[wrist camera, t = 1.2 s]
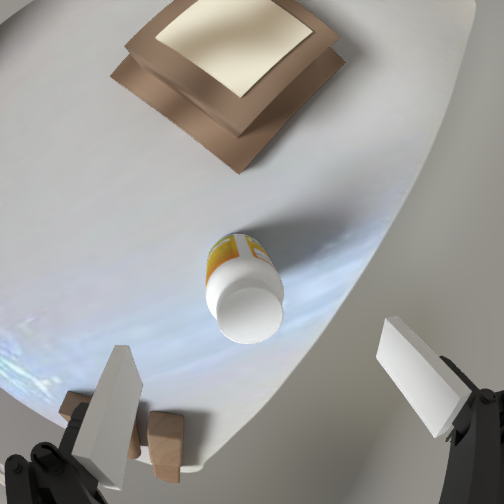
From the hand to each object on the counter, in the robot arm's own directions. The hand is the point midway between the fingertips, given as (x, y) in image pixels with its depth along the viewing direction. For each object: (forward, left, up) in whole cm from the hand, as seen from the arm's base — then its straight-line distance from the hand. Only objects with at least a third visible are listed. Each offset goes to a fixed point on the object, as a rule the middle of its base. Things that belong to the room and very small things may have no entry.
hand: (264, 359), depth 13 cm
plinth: (-12, +13, -13) cm, 22 cm away
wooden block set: (+4, -32, -14) cm, 36 cm away
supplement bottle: (0, 0, -13) cm, 13 cm away
